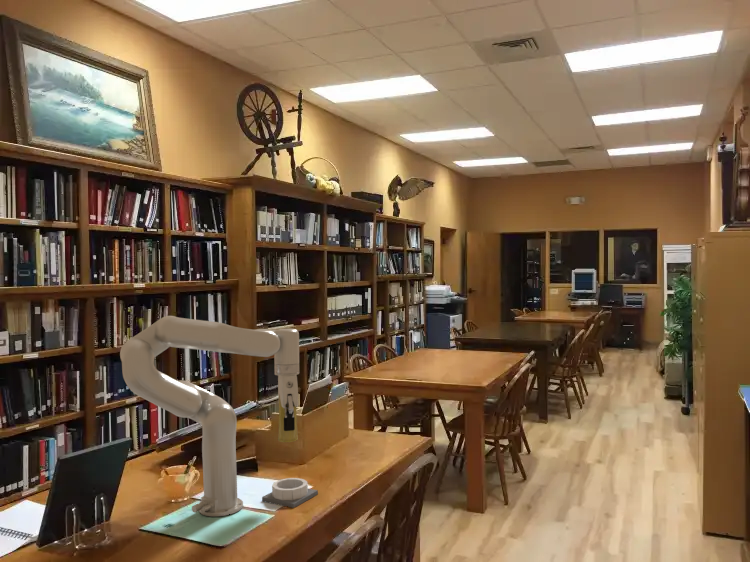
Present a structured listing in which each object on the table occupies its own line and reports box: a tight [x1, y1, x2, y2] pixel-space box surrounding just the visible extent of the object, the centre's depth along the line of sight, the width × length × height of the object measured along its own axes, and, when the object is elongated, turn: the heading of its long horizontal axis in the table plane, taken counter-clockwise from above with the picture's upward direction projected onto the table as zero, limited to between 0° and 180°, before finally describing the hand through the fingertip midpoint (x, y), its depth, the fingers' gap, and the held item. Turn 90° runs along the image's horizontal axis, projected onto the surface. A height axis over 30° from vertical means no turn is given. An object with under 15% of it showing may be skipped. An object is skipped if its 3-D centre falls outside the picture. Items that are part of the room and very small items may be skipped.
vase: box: [277, 394, 299, 443], centre depth 191 cm, size 6×6×14 cm
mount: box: [261, 477, 319, 509], centre depth 190 cm, size 12×12×4 cm
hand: (287, 427), depth 191 cm, fingers closed on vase, 5 cm apart
